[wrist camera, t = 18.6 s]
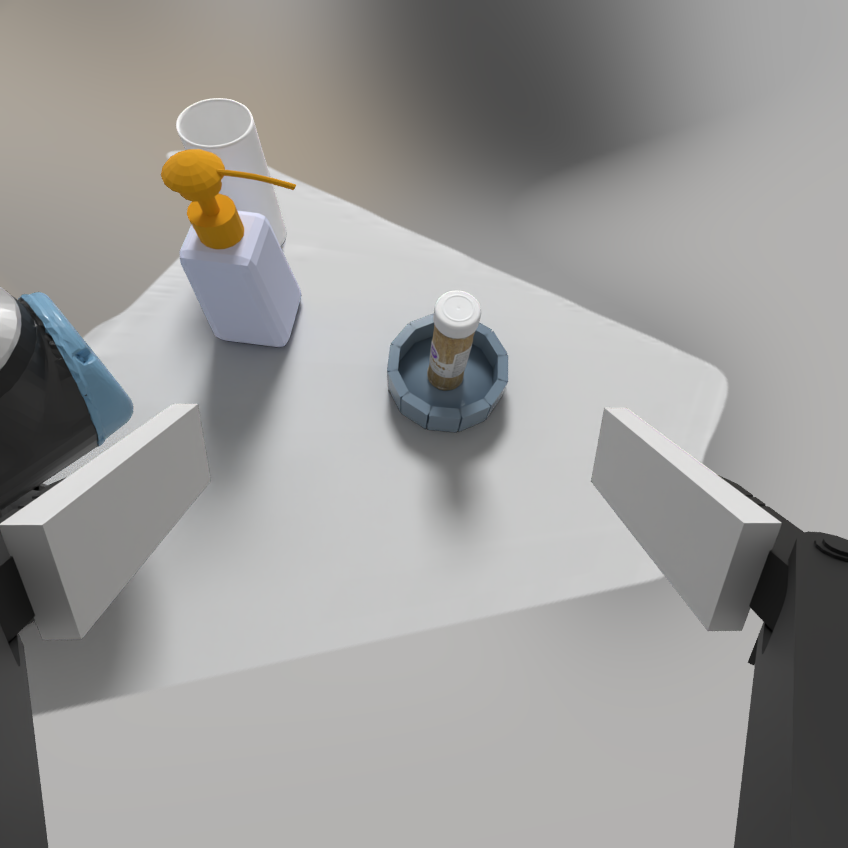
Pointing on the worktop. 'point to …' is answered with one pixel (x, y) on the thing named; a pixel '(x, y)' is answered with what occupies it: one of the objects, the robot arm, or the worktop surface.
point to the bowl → (440, 406)
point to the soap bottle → (232, 255)
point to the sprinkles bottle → (452, 338)
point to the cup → (233, 154)
